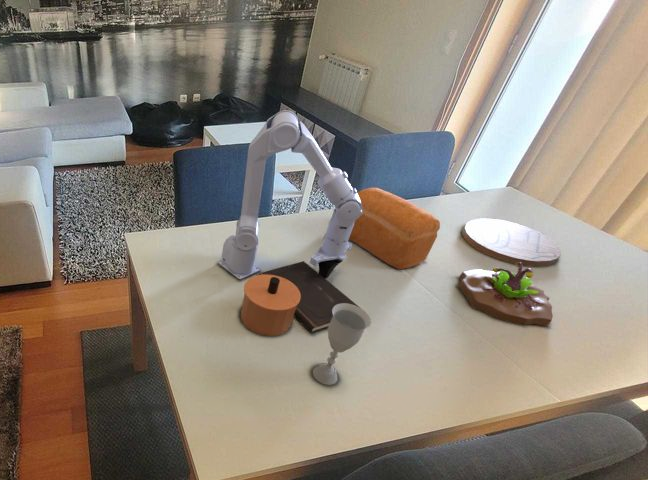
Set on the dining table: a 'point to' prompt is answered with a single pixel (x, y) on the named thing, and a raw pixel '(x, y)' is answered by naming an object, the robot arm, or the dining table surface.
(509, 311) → the plant
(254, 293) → the pot lid
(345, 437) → the dining table surface
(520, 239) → the trivet
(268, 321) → the pot
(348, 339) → the chalice
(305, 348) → the dining table surface
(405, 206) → the bread
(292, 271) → the hardcover book
